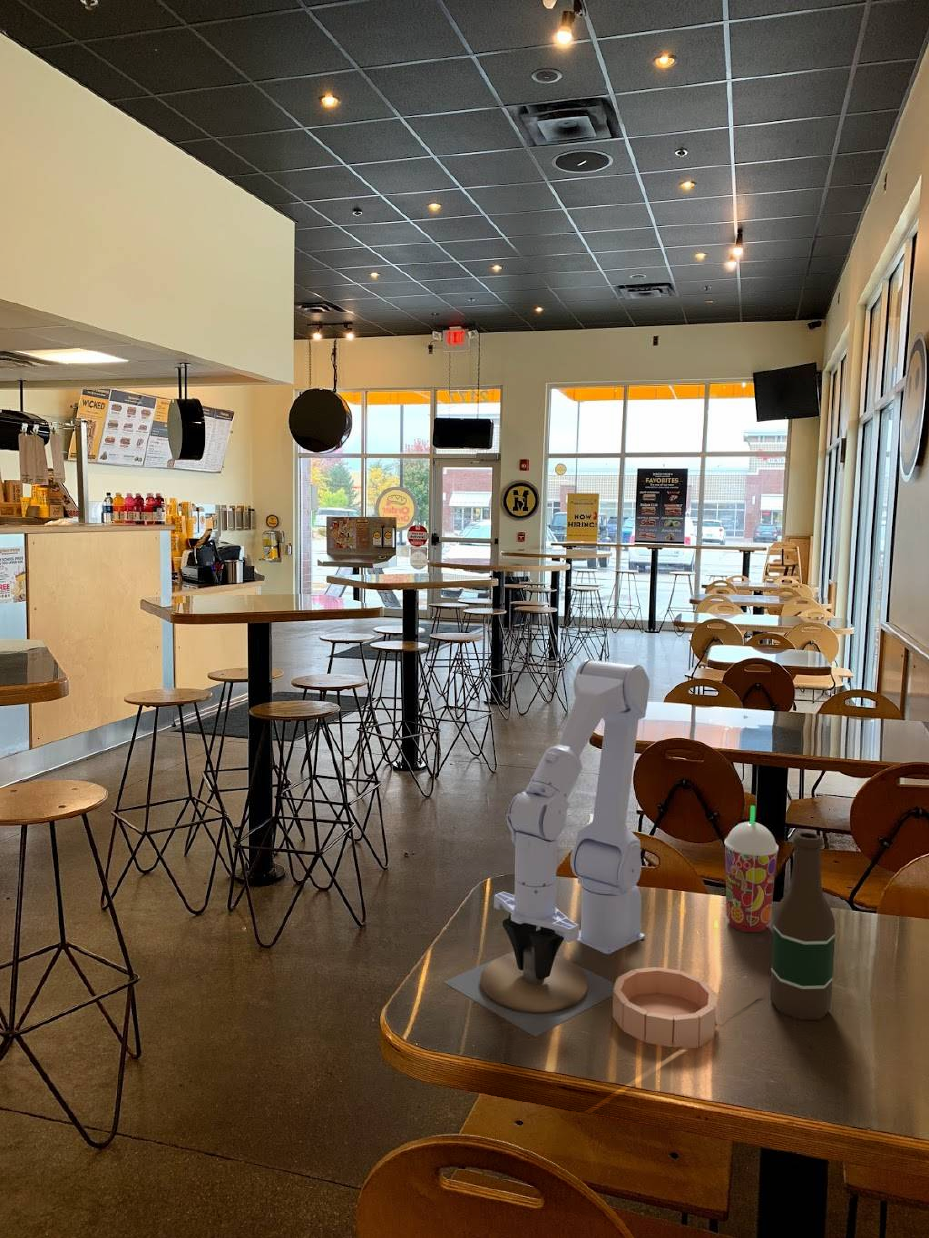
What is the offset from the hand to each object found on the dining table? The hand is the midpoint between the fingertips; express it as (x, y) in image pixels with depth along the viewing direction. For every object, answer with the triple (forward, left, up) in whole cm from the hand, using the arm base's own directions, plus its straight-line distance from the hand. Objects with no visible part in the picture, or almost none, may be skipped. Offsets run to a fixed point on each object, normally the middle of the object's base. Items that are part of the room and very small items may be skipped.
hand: (533, 972), depth 126 cm
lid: (0, 0, -2) cm, 2 cm away
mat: (0, 0, -2) cm, 2 cm away
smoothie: (-41, +9, -3) cm, 42 cm away
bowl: (-7, +17, -2) cm, 19 cm away
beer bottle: (-24, +27, -3) cm, 36 cm away
